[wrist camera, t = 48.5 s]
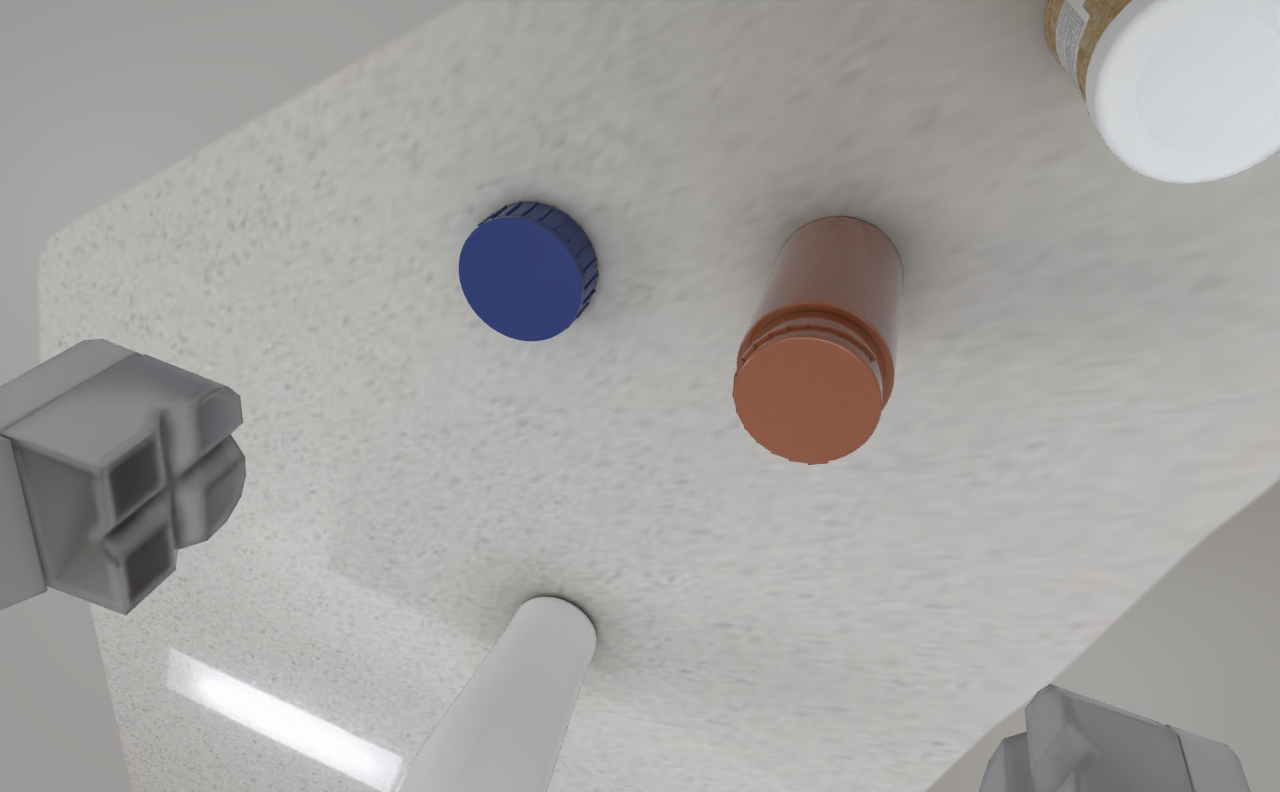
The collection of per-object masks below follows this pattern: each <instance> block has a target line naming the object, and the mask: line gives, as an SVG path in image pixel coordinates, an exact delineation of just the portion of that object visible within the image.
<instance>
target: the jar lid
mask: <svg viewBox="0 0 1280 792" xmlns="http://www.w3.org/2000/svg"><path fill="white" fill-rule="evenodd" d="M478 226H479V227H478V228H477V229H475V230H474V231H473V232H472V233H471V234H470V236H469V237H468V238H467V240H466V241H465V243H464V246H463V248H462V251H461V254H460V260H459V277H460V282H461V286H462V289H463V292H464V295H465V297H466V299H467V301H468V303H469V304H470V306H471V307H472V309H473V310H474V311H475V313H476V314H477V315H478V316H479V317H480V318H481V319H482V320H483V321H484V322H485V323H486V324H487V325H489V326H490V327H491V328H493V329H494V330H496V331H497V332H499V333H501V334H503V335H505V336H508V337H510V338H514V339H518V340H523V341H540V340H545V339H549V338H552V337H554V336H556V335H558V334H559V333H561V332H563V331H564V330H565V329H567V328H568V327H569V326H570V325H571V324H572V322H573V321H574V320H575V319H576V318H578V317H579V316H580V315H581V313H582V312H583V311H584V310H585V308H586V307H587V306H588V305H589V300H590V299H591V297H592V295H593V294H594V293H595V292H596V290H595V287H596V283H597V278H598V274H597V262H596V261H597V258H596V257H595V254H594V250H593V248H592V246H591V242H590V241H589V240H588V238H587V236H586V235H585V233H584V232H583V231H582V228H581V227H579V226H578V225H577V224H576V223H575V222H574V221H573V220H572V219H571V218H570V217H569V216H568V215H566V214H564V213H563V212H561V211H559V210H557V209H555V208H554V207H553V206H552V207H550V206H547V205H544V204H540V203H538V202H535V203H532V202H525V203H522V201H521V202H519V203H517V204H513V205H510V206H507V205H506V206H504V207H503V208H501V209H500V210H499V211H498V212H496V213H495V214H494V213H493V214H492V215H491V216H489V217H488V218H487V219H485V220H484V221H483V222H481V223H480V224H479V225H478Z"/></svg>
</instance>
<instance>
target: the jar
mask: <svg viewBox="0 0 1280 792" xmlns="http://www.w3.org/2000/svg"><path fill="white" fill-rule="evenodd" d="M902 284H903V268H902V263H901V259H900V257H899V254H898V252H897V250H896V248H895V246H894V245H893V243H892V242H891V241H890V239H889V238H888V237H887V236H886V235H885V234H884V233H882V232H881V231H880V230H879V229H877V228H876V227H874V226H873V225H871V224H869V223H867V222H864V221H862V220H858V219H855V218H850V217H827V218H823V219H819V220H816V221H813V222H811V223H809V224H807V225H805V226H803V227H802V228H800V229H799V230H797V231H796V232H795V233H794V234H793V235H792V236H791V237H790V238H789V239H788V240H787V241H786V243H785V244H784V246H783V247H782V249H781V251H780V253H779V255H778V258H777V260H776V262H775V265H774V267H773V270H772V272H771V274H770V277H769V279H768V281H767V284H766V286H765V289H764V291H763V293H762V296H761V298H760V300H759V303H758V305H757V307H756V310H755V312H754V315H753V317H752V319H751V322H750V324H749V326H748V329H747V331H746V333H745V336H744V338H743V341H742V343H741V346H740V349H739V352H738V357H737V370H736V373H735V375H734V385H733V398H734V402H735V406H736V412H737V414H738V416H739V418H740V420H741V422H742V424H743V425H744V428H745V429H746V430H747V431H748V432H749V434H750V435H751V436H752V437H753V438H754V439H755V440H756V442H757V443H759V444H760V445H762V446H763V447H764V448H766V449H768V450H769V451H771V453H773V454H775V455H778V456H781V457H784V458H786V459H789V461H793V462H801V463H808V465H813V464H825V463H828V461H831V460H836V459H839V458H841V457H844V456H846V455H848V454H850V453H852V452H853V451H855V450H856V449H858V448H859V447H861V446H862V445H863V444H864V443H865V442H866V441H867V440H868V439H869V438H870V436H871V435H872V434H873V432H874V430H875V429H876V427H877V424H878V422H879V419H880V416H881V411H882V410H883V408H884V407H885V405H886V404H887V402H888V400H889V397H890V395H891V392H892V388H893V384H894V375H895V363H896V352H897V341H898V330H899V318H900V307H901V296H902Z"/></svg>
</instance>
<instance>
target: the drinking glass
mask: <svg viewBox="0 0 1280 792" xmlns="http://www.w3.org/2000/svg"><path fill="white" fill-rule="evenodd" d="M596 645H597V638H596V632H595V629H594V627H593V625H592V623H591V621H590V620H589V618H588V617H587V616H586V615H585V614H584V613H583V612H582V611H581V610H580V609H578V608H577V607H576V606H574V605H573V604H571V603H569V602H567V601H564V600H562V599H559V598H554V597H536V598H533V599H530V600H528V601H526V602H524V603H523V604H522V605H521V606H520V607H519V608H518V609H517V610H516V612H515V613H514V615H513V617H512V618H511V620H510V622H509V624H508V625H507V627H506V629H505V630H504V632H503V633H502V635H501V636H500V637H499V639H498V640H497V642H496V643H495V644H494V646H493V647H492V649H491V650H490V651H489V653H488V654H487V656H486V657H485V658H484V660H483V661H482V663H481V664H480V665H479V667H478V668H477V670H476V671H475V672H474V674H473V675H472V677H471V678H470V679H469V681H468V682H467V683H466V685H465V686H464V688H463V689H462V690H461V692H460V693H459V694H458V696H457V697H456V699H455V700H454V701H453V703H452V704H451V705H450V707H449V708H448V709H447V711H446V712H445V714H444V715H443V716H442V718H441V719H440V720H439V722H438V723H437V725H436V726H435V727H434V729H433V730H432V732H431V733H430V735H429V736H428V737H427V739H426V740H425V742H424V743H423V745H422V746H421V748H420V750H419V751H418V753H417V754H416V756H415V758H414V759H413V761H412V762H411V764H410V766H409V768H408V769H407V771H406V773H405V775H404V776H403V778H402V780H401V782H400V784H399V785H398V787H397V789H396V791H395V792H547V789H548V786H549V783H550V780H551V777H552V774H553V771H554V768H555V765H556V762H557V759H558V756H559V752H560V749H561V746H562V743H563V740H564V737H565V734H566V731H567V728H568V725H569V722H570V719H571V716H572V713H573V710H574V707H575V704H576V701H577V698H578V695H579V692H580V689H581V686H582V683H583V680H584V677H585V674H586V671H587V669H588V667H589V664H590V662H591V660H592V658H593V655H594V653H595V650H596Z"/></svg>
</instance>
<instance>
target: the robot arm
mask: <svg viewBox="0 0 1280 792" xmlns="http://www.w3.org/2000/svg"><path fill="white" fill-rule="evenodd" d="M242 423H243V418H242V409H241V400H240V395H238V394H237V393H236V392H234V391H233V390H232V389H230V388H229V387H227V386H225V385H222V384H219V383H217V382H214V381H212V380H209V379H207V378H204V377H202V376H199V375H196V374H194V373H191V372H189V371H186V370H184V369H181V368H178V367H176V366H173V365H171V364H168V363H166V362H163V361H161V360H158V359H155V358H153V357H150V356H148V355H142V354H139V353H137V352H134V351H132V350H129V349H127V348H124V347H122V346H119V345H117V344H114V343H112V342H109V341H107V340H104V339H97V340H84V341H82V342H80V343H78V344H76V345H75V346H73V347H71V348H69V349H67V350H65V351H64V352H62V353H60V354H58V355H56V356H55V357H53V358H51V359H49V360H47V361H46V362H44V363H42V364H40V365H38V366H37V367H35V368H33V369H31V370H29V371H28V372H26V373H24V374H22V375H20V376H19V377H17V378H15V379H13V380H11V381H10V382H8V383H6V384H4V385H2V386H0V610H2V609H5V608H7V607H10V606H12V605H14V604H17V603H19V602H22V601H24V600H27V599H29V598H32V597H34V596H37V595H39V594H42V593H44V592H46V591H47V587H46V586H48V587H51V588H53V589H56V590H59V591H61V592H64V593H67V594H69V595H72V596H75V597H78V598H80V599H83V600H86V601H88V602H91V603H94V604H96V605H99V606H102V607H104V608H107V609H110V610H113V611H115V612H118V613H121V614H123V615H127V614H128V613H129V612H130V611H131V610H132V609H133V608H135V607H136V606H137V605H138V604H139V603H140V602H141V601H142V600H143V599H144V598H145V597H146V596H148V595H149V594H150V593H151V592H152V591H153V590H154V589H155V588H156V587H157V586H158V585H160V584H161V583H162V582H163V581H164V580H165V579H166V578H167V577H168V576H169V575H170V574H172V573H173V572H174V571H175V570H176V563H177V554H178V550H179V549H182V548H185V547H188V546H191V545H194V544H198V543H201V542H204V541H207V540H208V539H209V538H210V537H211V536H212V535H213V534H214V533H215V532H216V531H217V530H218V529H220V528H221V527H222V526H223V525H224V524H225V523H226V522H227V520H228V518H229V517H230V515H231V513H232V511H233V510H234V508H235V506H236V505H237V503H238V501H239V499H240V498H241V495H242V490H243V486H244V482H245V477H246V468H245V456H244V454H243V453H242V451H241V450H240V448H239V447H238V445H237V444H236V442H235V440H234V439H233V437H232V436H231V434H232V433H233V432H234V431H235V430H236V429H237V428H238V427H239V426H240V425H241V424H242ZM1025 717H1026V728H1027V732H1024V733H1020V734H1017V735H1014V736H1011V737H1008V738H1004V739H1003V740H1002V742H1001V743H1000V745H999V746H998V748H997V749H996V751H995V752H994V754H993V756H992V757H991V759H990V760H989V762H988V765H987V768H986V771H985V774H984V777H983V780H982V783H981V786H980V789H979V792H1251V791H1250V789H1249V786H1248V783H1247V780H1246V777H1245V774H1244V771H1243V768H1242V765H1241V762H1240V760H1239V758H1238V757H1237V755H1235V753H1234V752H1233V751H1232V750H1231V748H1230V747H1229V746H1228V745H1225V744H1222V743H1219V742H1216V741H1214V740H1211V739H1208V738H1205V737H1202V736H1199V735H1196V734H1193V733H1191V732H1187V731H1185V730H1182V729H1179V728H1176V727H1173V726H1170V725H1163V724H1161V723H1159V722H1157V721H1154V720H1151V719H1148V718H1146V717H1142V716H1140V715H1137V714H1134V713H1131V712H1128V711H1126V710H1123V709H1120V708H1117V707H1114V706H1112V705H1109V704H1106V703H1103V702H1100V701H1097V700H1095V699H1092V698H1089V697H1086V696H1083V695H1080V694H1078V693H1075V692H1072V691H1069V690H1066V689H1063V688H1060V687H1058V686H1055V685H1052V684H1049V685H1048V686H1046V687H1045V688H1043V689H1041V690H1040V691H1038V692H1037V693H1036V695H1035V696H1034V697H1033V699H1032V700H1031V701H1030V703H1029V704H1028V705H1027V707H1026V708H1025Z"/></svg>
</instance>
